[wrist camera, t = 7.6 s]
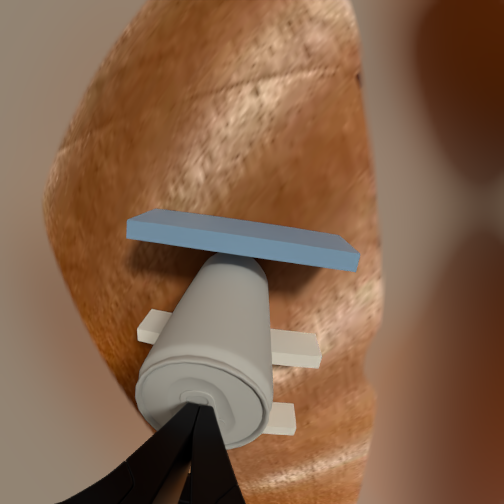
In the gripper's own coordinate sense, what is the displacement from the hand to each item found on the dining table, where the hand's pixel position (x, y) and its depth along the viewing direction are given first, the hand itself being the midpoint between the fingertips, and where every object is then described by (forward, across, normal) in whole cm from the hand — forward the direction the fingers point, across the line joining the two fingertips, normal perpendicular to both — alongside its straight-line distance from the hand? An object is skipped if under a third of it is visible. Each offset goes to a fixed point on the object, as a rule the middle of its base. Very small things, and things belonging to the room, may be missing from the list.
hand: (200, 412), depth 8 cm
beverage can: (+12, 0, 0) cm, 12 cm away
